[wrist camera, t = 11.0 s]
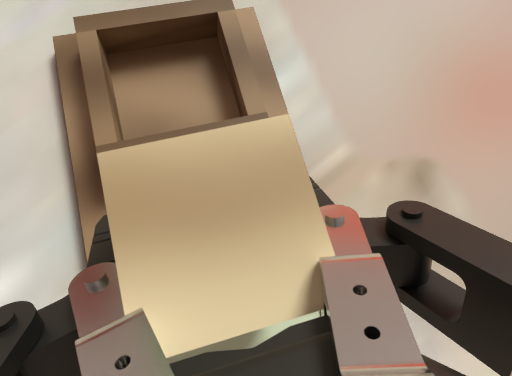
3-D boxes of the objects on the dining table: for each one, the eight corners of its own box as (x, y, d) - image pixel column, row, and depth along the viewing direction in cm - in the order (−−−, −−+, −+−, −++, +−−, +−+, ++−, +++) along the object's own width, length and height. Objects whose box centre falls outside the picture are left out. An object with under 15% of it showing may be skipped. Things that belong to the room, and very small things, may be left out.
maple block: (280, 299, 16) (350, 301, 8) (179, 329, 15) (133, 367, 7) (253, 205, 17) (288, 113, 9) (158, 228, 17) (96, 153, 8)
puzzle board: (353, 332, 19) (377, 338, 16) (116, 409, 17) (96, 432, 14) (251, 18, 24) (256, -20, 21) (59, 48, 22) (36, 10, 19)
